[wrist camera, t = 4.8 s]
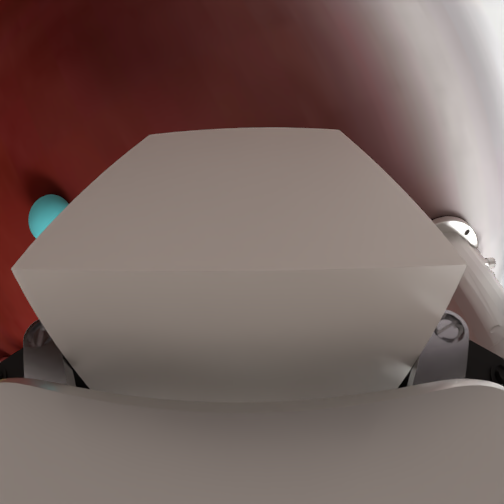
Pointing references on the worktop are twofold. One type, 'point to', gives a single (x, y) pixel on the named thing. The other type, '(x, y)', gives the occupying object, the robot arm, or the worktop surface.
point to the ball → (45, 212)
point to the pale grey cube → (241, 270)
